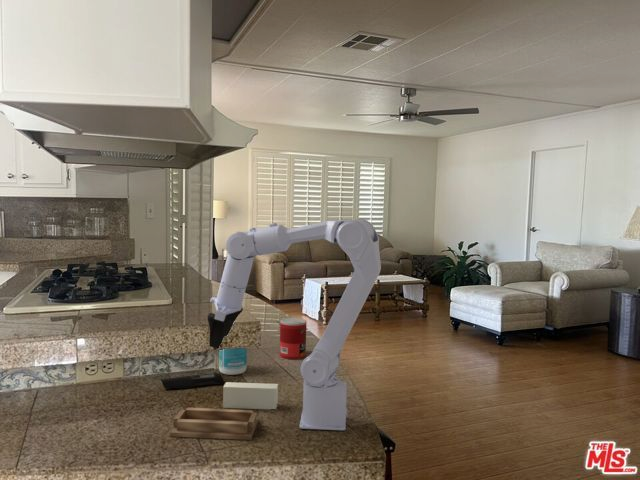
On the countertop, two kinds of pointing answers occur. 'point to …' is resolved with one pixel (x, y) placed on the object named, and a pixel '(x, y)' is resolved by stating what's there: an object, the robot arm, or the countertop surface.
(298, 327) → the canned food
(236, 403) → the clay strip
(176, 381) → the electric trimmer
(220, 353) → the pill bottle
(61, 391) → the countertop surface
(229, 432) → the tray
